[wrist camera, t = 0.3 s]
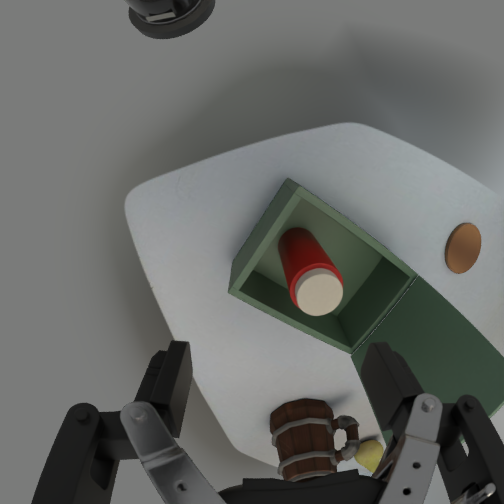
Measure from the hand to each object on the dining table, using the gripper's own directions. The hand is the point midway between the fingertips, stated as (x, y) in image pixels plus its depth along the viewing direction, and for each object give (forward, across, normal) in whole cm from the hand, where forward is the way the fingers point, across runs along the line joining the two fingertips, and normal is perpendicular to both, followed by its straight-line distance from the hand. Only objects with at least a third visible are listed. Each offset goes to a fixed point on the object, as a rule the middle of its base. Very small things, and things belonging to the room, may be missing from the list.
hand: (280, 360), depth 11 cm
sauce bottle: (+22, -4, +2) cm, 22 cm away
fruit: (+23, -28, +50) cm, 62 cm away
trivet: (+23, -31, +1) cm, 39 cm away
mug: (+23, -11, +34) cm, 43 cm away
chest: (+22, -7, +4) cm, 24 cm away
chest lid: (+6, -14, +7) cm, 17 cm away
